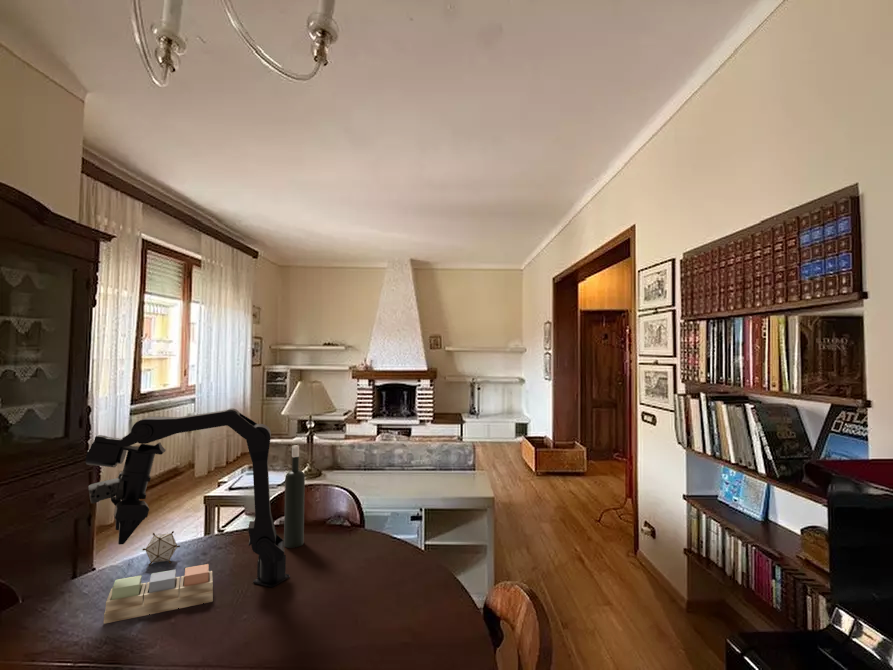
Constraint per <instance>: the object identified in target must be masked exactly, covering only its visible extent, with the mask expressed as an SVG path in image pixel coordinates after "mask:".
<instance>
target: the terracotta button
mask: <svg viewBox="0 0 893 670" xmlns="http://www.w3.org/2000/svg"><path fill="white" fill-rule="evenodd" d="M209 568H210V567H209V563H207V564H206V563H205V564H200V565H194V566H189V567H185V570H184V576H185V580H184V586H190V585H195V584H200V583H206V582H208V575H209V571H210V570H209Z"/></svg>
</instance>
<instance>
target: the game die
mask: <svg viewBox="0 0 893 670" xmlns="http://www.w3.org/2000/svg"><path fill="white" fill-rule="evenodd" d="M174 533H175V531H174V530H172V532H171V533H163V534H162V533H160V534H155V532H152V536H153V537H152V538H151V539H150V541H149V542H148V544H147V545H146V547H145V548H142V549H141V550H142V552H143V551H145V553H146V554H147V557H148V560H149V561H150V562H149V564H148V566H152V564H153V563H161V562H168V563H169V564H171V562H172V561H171V559H172V557H173V555H174V553H175V551H176V550H177V549H178V548H180V547H181V545H178V544H177V542H176V539H175V536H174V535H173V534H174Z"/></svg>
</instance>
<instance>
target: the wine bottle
mask: <svg viewBox="0 0 893 670" xmlns="http://www.w3.org/2000/svg"><path fill="white" fill-rule="evenodd" d="M299 458H300V445H297V444H294V445H292V446H291V470H290V471H288V472H287V473H286V475H285V476H284V477H285V478H284V480H285V481H284V482H285V483H284V521H283V522H284V523H283V524H284V525H283V527H284V528H283V529H284V530H283V540H284V548H287V549H294V548H295V547H296V548H299V547H301V546H303V545H304V541H305V532H304V531H305V495H306V494H305V489H306V488H305V486H306V484H305V483H306V481H305V479H306V475H305V473H304V472H303V471H302V470H299V469H300V468H299V467H300V466H299V464H300V462H299V460H300V459H299ZM296 548H295V549H296Z"/></svg>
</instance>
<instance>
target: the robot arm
mask: <svg viewBox="0 0 893 670" xmlns="http://www.w3.org/2000/svg"><path fill="white" fill-rule="evenodd" d="M225 426H227V427H229V428H231V429H232V430H233V431H234V432H236V434H238V436H240V437H241V438H243V439H244V440H246V445H247V450H248V453H249V457H250V459H251V464H252V476H253V477H252V478H253V480H252V481H253V498H254V499H253V500H254V515H255V516H254V517H255V518H254V521H253V520H251V521H249V523H248V528H247V531H248V535H249V541H248V546H251V550H252V552H253V553H254V554H257V555H258V560H257V564H256V565H257V567H256V568H257V569H256V570H257V571H256V577H257V578H255V579H253V583H254V584H256V585H260V586H265V587H268V588H274V587H275V586H277V585H279V584H280V583H282V582H283V581H285V580H287V579H289V578H290V576H291V575H290V574H287V573H286V567H287V565H286V564H287V563H286V562H287V561H286V560H287V556H286V554H285V546H284V538H282V537H281V536H279V534H277V529H276V527H275V522H274V519H273V516H272V511H271V500H270V499H271V498H270V477H269V475H270V474H269V452H270V445H271V438H272V431H271V429H270V427H269V426H268V425H266V424H264V423H257V422H256V421H254V420H252V419H251V418H249V417H248V416H246V415H244V414H242V413H241V412H240V411H239V410H237V409H236V408H228V409H226V410H225V409H224V410H219V411H213V412H205V413H198V414H192V415H186V416H184V415H183V416H178V417H177V416H174V417H173V416H147V417H144V418H141V419H140V420H138V421H136V422H134V424H133V425H132V427H131V430H130V432H129V433H128V434H127V435H125V436H123V437H122V438H119V437H111V436H107V435H102V434H99V435H96V436H95V437H94V440H93V442H92V443H91V445H90V447H89V449H88V450H87V452H86V456H85V464H86V465H87V466H88V465H89V466H97V467H105V468H114V469H115V468H116V467H118V464H119V465H122V464H123V462H124V466H123V468H122V470H121V471H120V472H119V473H118V477H116V478H111V479H107V480H101V481H98V482H95V483H91V484H89V485H88V486H87V487H88V495H89V500H90V501H89V502H90V504H96V503H99V502H100V501H104V500H108V499H110V502H111V503H112V504H113V505H114V507H115V508H114V513H113V517H114V520H115V531H118V542H117V544H118V545H124V544H125V543H126V542H127V540H129V539H130V537H131V535H132V534H133V533H134V532H135V530H136V529H137V528H138V527H139V526H140V525H141V523H142V522H143V521H144V520H145V519H147V518H148V516H149V512H150V507H149V505H148V503H147V502H146V501H145V500H146V499H147V493H146V490H147V486H148V483H149V482H151V479H152V477H151V472H152V468H153V464H154V460H155V456H156V455H163V454H164V453H165V452H166V451H167V450H166V449H165V448H164V446H163V445H162V443H161V442H158V443H156V444H149V443H152V442H156V441H159V440H162V439H165V438H167V437H171V436H173V435H177V434H182V433H188V432H195V431H200V430H202V431H203V430H206V429H212V428H214V429H215V428H220V427H225ZM135 444H140V445H139V446H133V445H135ZM124 460H125V461H124Z"/></svg>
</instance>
